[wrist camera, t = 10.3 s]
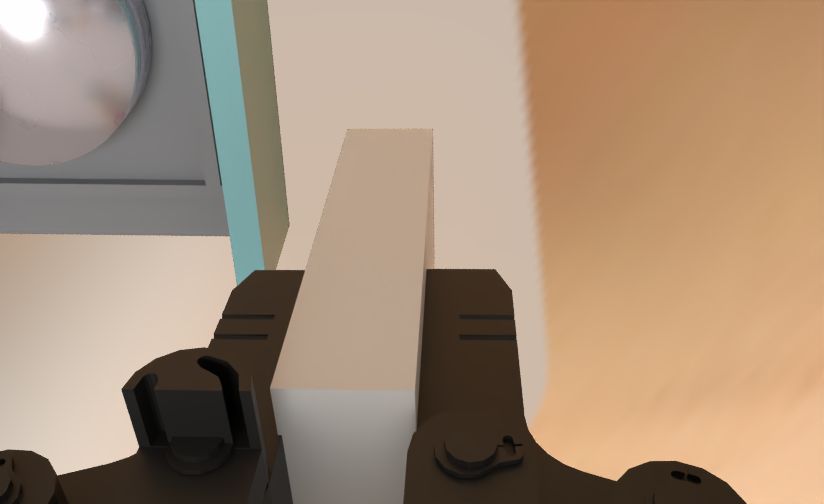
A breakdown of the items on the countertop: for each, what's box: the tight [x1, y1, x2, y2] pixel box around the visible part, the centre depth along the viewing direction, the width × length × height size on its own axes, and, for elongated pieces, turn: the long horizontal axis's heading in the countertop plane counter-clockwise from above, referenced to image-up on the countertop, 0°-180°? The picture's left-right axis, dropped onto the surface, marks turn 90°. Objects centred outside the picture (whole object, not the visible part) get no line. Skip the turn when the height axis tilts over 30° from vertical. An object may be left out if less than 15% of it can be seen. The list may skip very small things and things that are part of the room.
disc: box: [0, 0, 152, 165], centre depth 23 cm, size 8×8×2 cm
